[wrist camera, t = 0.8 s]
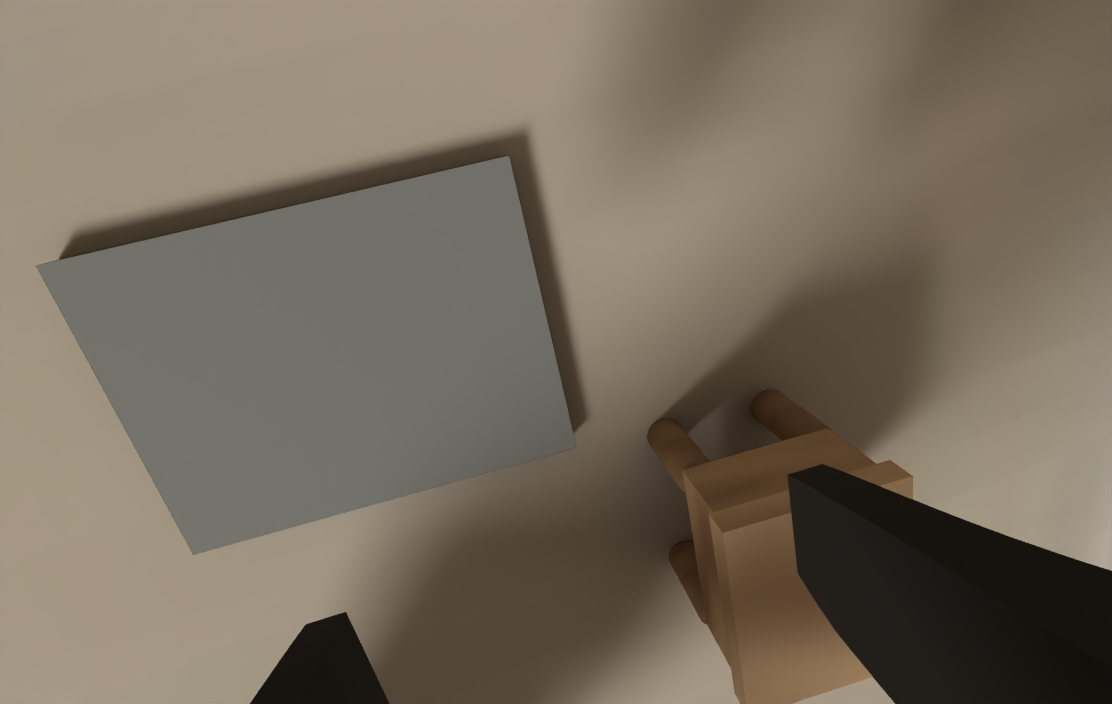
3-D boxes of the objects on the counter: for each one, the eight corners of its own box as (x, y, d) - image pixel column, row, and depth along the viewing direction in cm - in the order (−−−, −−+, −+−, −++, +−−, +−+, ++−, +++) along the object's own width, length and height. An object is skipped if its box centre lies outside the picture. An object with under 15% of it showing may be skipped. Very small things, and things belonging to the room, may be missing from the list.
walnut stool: (795, 534, 22) (911, 663, 16) (671, 572, 22) (747, 717, 16) (783, 385, 20) (912, 476, 14) (644, 424, 19) (722, 533, 14)
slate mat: (571, 436, 19) (576, 447, 18) (203, 538, 18) (192, 554, 17) (506, 155, 16) (508, 155, 15) (56, 260, 15) (35, 265, 14)
